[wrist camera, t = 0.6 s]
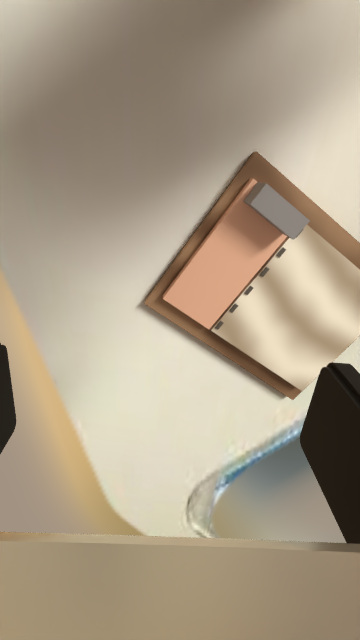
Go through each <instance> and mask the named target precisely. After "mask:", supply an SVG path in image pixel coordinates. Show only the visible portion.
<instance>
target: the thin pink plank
mask: <svg viewBox="0 0 360 640" xmlns="http://www.w3.org/2000/svg"><path fill="white" fill-rule="evenodd" d="M309 221H310V220H308V219H307V218H306V217H305V216H304V215H303V214H302V213H300V212H299V211H298V210H297V209H296V208H295V207H293V206H292V205H291V204H290V203H289V202H288V201H286V200H285V199H284V198H283V197H282V196H281V195H279V194H278V193H277V192H276V191H275V190H274V189H273V188H271V187H270V186H269V185H268V184H267V183H261V182H257V181H256V180H255V179H253V178H250V179H249V181H248V182H247V183H246V185H245V186H244V187H243V189H242V190H241V191H240V193H239V194H238V195H237V197H236V198H235V199H234V201H233V202H232V203H231V205H230V206H229V207H228V209H227V210H226V211H225V213H224V214H223V215H222V217H221V218H220V219H219V221H218V222H217V223H216V225H215V226H214V227H213V229H212V230H211V231H210V233H209V234H208V235H207V237H206V238H205V239H204V241H203V242H202V243H201V245H200V246H199V247H198V249H197V250H196V251H195V253H194V254H193V255H192V257H191V258H190V259H189V261H188V262H187V263H186V265H185V266H184V267H183V269H182V270H181V271H180V273H179V274H178V275H177V277H176V278H175V279H174V281H173V282H172V283H171V285H170V286H169V287H168V289H167V290H166V291H165V293H164V294H163V299H164V300H165V301H167V302H168V303H170V304H171V305H173V306H174V307H176V308H177V309H179V310H180V311H182V312H183V313H185V314H186V315H188V316H189V317H191V318H192V319H194V320H195V321H197V322H198V323H200V324H201V325H203V326H204V327H206V328H207V329H210V328H211V327H212V325H213V324H214V323H215V322H216V321H217V319H218V318H219V317H220V316H221V315H222V313H223V312H224V311H225V310H226V309H227V307H228V306H229V305H230V304H231V303H232V302H233V300H234V299H235V298H236V297H237V296H238V294H239V293H240V292H241V291H242V290H243V288H244V287H245V286H246V285H247V284H248V283H249V281H250V280H251V279H252V278H253V277H254V275H255V274H256V273H257V272H258V271H259V269H260V268H261V267H262V266H263V265H264V263H265V262H266V261H267V260H268V259H269V258H270V256H271V255H272V254H273V253H274V252H275V250H276V249H277V248H278V247H279V246H280V244H281V243H282V242H283V241H284V240H285V239H286V237H289V238H291V239H293V240H294V239H295V238H296V237H297V235H298V234H299V233H300V232H301V231H302V230H303V228H304V227H305V226H306V225H307V224H308V223H309Z"/></svg>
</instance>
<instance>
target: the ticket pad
mask: <svg viewBox="0 0 360 640" xmlns="http://www.w3.org/2000/svg"><path fill="white" fill-rule="evenodd" d="M250 178H253V179H255V180H256V181H257V182H261V183H267V184H268V185H269V186H270V187H271V188H273V189H274V190H275V191H276V192H277V193H278V194H279V195H281V196H282V197H283V198H284V199H285V200H286V201H288V202H289V203H290V204H291V205H292V206H293V207H295V208H296V209H297V210H298V211H299V212H300V213H302V214H303V215H304V216H305V217H306V218H307V219H308V220H310V221H309V223H308V224H307V225H306V226H305V227H304V228H303V230H302V231H301V232H300V233H299V234H298V235H297V237H296V238H295V239H294V240H293V239H291V238H289V237H286V239H285V240H284V241H283V242H282V243H281V244H280V246H279V247H278V248H277V249H276V250H275V252H274V253H273V254H272V255H271V256H270V258H269V259H268V260H267V261H266V262H265V263H264V265H263V266H262V267H261V268H260V269H259V271H258V272H257V273H256V274H255V275H254V277H253V278H252V279H251V280H250V281H249V283H248V284H247V285H246V286H245V287H244V288H243V290H242V291H241V292H240V293H239V294H238V296H237V297H236V298H235V299H234V300H233V302H232V303H231V304H230V305H229V306H228V307H227V309H226V310H225V311H224V312H223V313H222V315H221V316H220V317H219V318H218V319H217V321H216V322H215V323H214V324H213V325H212V327H211V328H210V329H207V328H206V327H204V326H203V325H201V324H200V323H198V322H197V321H195V320H194V319H192V318H191V317H189V316H188V315H186V314H185V313H183V312H182V311H180V310H179V309H177V308H176V307H174V306H173V305H171V304H170V303H168V302H167V301H165V300H164V299H163V294H164V293H165V291H166V290H167V289H168V287H169V286H170V285H171V283H172V282H173V281H174V279H175V278H176V277H177V275H178V274H179V273H180V271H181V270H182V269H183V267H184V266H185V265H186V263H187V262H188V261H189V259H190V258H191V257H192V255H193V254H194V253H195V251H196V250H197V249H198V247H199V246H200V245H201V243H202V242H203V241H204V239H205V238H206V237H207V235H208V234H209V233H210V231H211V230H212V229H213V227H214V226H215V225H216V223H217V222H218V221H219V219H220V218H221V217H222V215H223V214H224V213H225V211H226V210H227V209H228V207H229V206H230V205H231V203H232V202H233V201H234V199H235V198H236V197H237V195H238V194H239V193H240V191H241V190H242V189H243V187H244V186H245V185H246V183H247V182H248V181H249V179H250ZM145 304H146V305H147V306H149V307H150V308H152V309H153V310H155V311H157V312H158V313H160V314H161V315H163V316H164V317H166V318H167V319H169V320H170V321H172V322H173V323H175V324H177V325H178V326H180V327H181V328H183V329H184V330H186V331H187V332H189V333H190V334H192V335H193V336H195V337H197V338H198V339H200V340H201V341H203V342H204V343H206V344H207V345H209V346H210V347H212V348H213V349H215V350H217V351H218V352H220V353H221V354H223V355H224V356H226V357H227V358H229V359H230V360H232V361H233V362H235V363H237V364H238V365H240V366H241V367H243V368H244V369H246V370H247V371H249V372H250V373H252V374H253V375H255V376H257V377H258V378H260V379H261V380H263V381H264V382H266V383H267V384H269V385H270V386H272V387H273V388H275V389H277V390H278V391H280V392H281V393H283V394H284V395H286V396H287V397H289V398H290V399H292V400H293V399H294V398H295V397H297V396H298V395H299V394H300V393H301V392H302V391H303V390H304V389H305V388H306V387H307V386H308V385H309V384H310V383H311V382H312V381H313V380H314V379H315V378H316V377H317V376H318V375H319V374H320V371H321V369H322V368H323V367H326V366H327V365H328V364H329V363H332V362H333V361H334V360H335V359H336V358H337V357H338V356H339V355H340V354H341V353H342V352H343V351H344V350H345V349H346V348H347V347H349V346H350V345H351V344H352V343H353V342H354V341H355V340H356V339H357V338H358V337H359V336H360V243H359V242H358V241H357V240H356V239H355V238H353V237H352V236H351V235H350V234H349V233H348V232H347V231H346V230H344V229H343V228H342V227H341V226H340V225H339V224H338V223H337V222H335V221H334V220H333V219H332V218H331V217H330V216H329V215H328V214H326V213H325V212H324V211H323V210H322V209H321V208H320V207H319V206H317V205H316V204H315V203H314V202H313V201H312V200H311V199H310V198H308V197H307V196H306V195H305V194H304V193H303V192H302V191H300V190H299V189H298V188H297V187H296V186H295V185H294V184H293V183H291V182H290V181H289V180H288V179H287V178H286V177H285V176H284V175H282V174H281V173H280V172H279V171H278V170H277V169H276V168H275V167H273V166H272V165H271V164H270V163H269V162H268V161H267V160H266V159H264V158H263V157H262V156H261V155H260V154H259V153H258V152H257V151H256V152H253V153H252V155H251V156H250V157H249V159H248V160H247V161H246V163H245V164H244V166H243V167H242V168H241V170H240V171H239V172H238V174H237V175H236V176H235V178H234V179H233V181H232V182H231V183H230V185H229V186H228V187H227V189H226V190H225V191H224V193H223V194H222V196H221V197H220V198H219V200H218V201H217V202H216V204H215V205H214V207H213V208H212V209H211V211H210V212H209V213H208V215H207V216H206V217H205V219H204V220H203V222H202V223H201V224H200V226H199V227H198V228H197V230H196V231H195V232H194V234H193V235H192V237H191V238H190V239H189V241H188V242H187V243H186V245H185V246H184V247H183V249H182V250H181V252H180V253H179V254H178V256H177V257H176V258H175V260H174V261H173V262H172V264H171V265H170V267H169V268H168V269H167V271H166V272H165V273H164V275H163V276H162V278H161V279H160V280H159V282H158V283H157V284H156V286H155V287H154V288H153V290H152V291H151V293H150V294H149V295H148V297H147V298H146V299H145Z"/></svg>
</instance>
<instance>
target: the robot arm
mask: <svg viewBox="0 0 360 640" xmlns="http://www.w3.org/2000/svg"><path fill="white" fill-rule="evenodd" d="M15 426H16V414H15V407H14V399H13V392H12V385H11V377H10V370H9V362H8V354H7V348H6V346H4V345H1V343H0V454H1V452H2V450H3V449H4V447H5V445H6V444H7V442H8V440H9V438H10V437H11V435H12V433H13V432H14V429H15ZM300 443H301V447H302V449H303V451H304V453H305V455H306V458H307V460H308V462H309V464H310V466H311V468H312V470H313V472H314V474H315V477H316V479H317V481H318V483H319V485H320V487H321V489H322V492H323V494H324V496H325V498H326V500H327V502H328V504H329V506H330V509H331V511H332V513H333V515H334V517H335V519H336V521H337V523H338V526H339V527H340V530H341V532H342V534H343V536H344V538H345V540H346V542H347V543H326V542H300V541H298V542H297V541H274V540H249V539H220V538H191V537H161V536H129V535H128V536H127V535H96V534H61V533H23V532H0V640H360V374H359V373H358V372H357V370H356V369H355V368H354V367H353V366H352V365H350V364H345V363H329V364H328V365H327V366H326V367H323V368H322V369H321V371H320V374H319V377H318V380H317V383H316V386H315V390H314V393H313V396H312V399H311V402H310V406H309V409H308V412H307V415H306V418H305V422H304V425H303V428H302V431H301V435H300Z"/></svg>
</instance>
